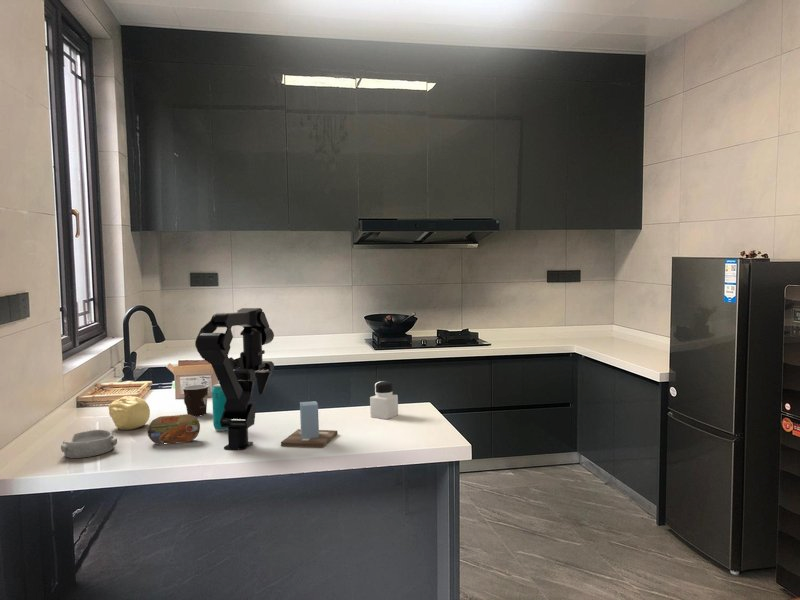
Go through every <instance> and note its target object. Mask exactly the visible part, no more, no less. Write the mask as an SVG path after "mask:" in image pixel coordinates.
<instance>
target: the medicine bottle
mask: <svg viewBox="0 0 800 600" xmlns="http://www.w3.org/2000/svg"><path fill="white" fill-rule="evenodd" d="M374 393H375V395H373V396H370V397H369V404H370V406H369V407H370V409H369V410H370V417H371V418H375V419H382V420H390V419H392V418H394V417H397V416H398V415H399V397H398V396H399V395H398V394H393V383H392V382H391V381H387V380H382V381H378V382H377V381H376V383H375V384H374Z"/></svg>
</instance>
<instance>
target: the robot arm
mask: <svg viewBox="0 0 800 600" xmlns="http://www.w3.org/2000/svg"><path fill="white" fill-rule="evenodd" d="M234 326H235V327H236V326H239V327H242V328H243V329H242V331H240V336H242V347H243V348H242V349H243V350H242V351H241V352H240V353H239V357H237V358H235V359H234V357H232V356H231V357H229V353H230V350H231V343H232V341H233V338H234V336H233V331H232V328H233V327H234ZM218 328H226V331H225V333H224V332H216V331H217V329H218ZM274 337H275V333H274V331H273V330H272V328H270V324H269V321H268V319H267V317H266V313H265V311H263V309H262V308H260V307H253V308H252V307H250V308H249V307H247V308H246V307H245V308H244V307H243V308H240V309H238V310H237V312H228V313H227V312H220V313H219V312H217V313H214V314H212V317H211V319H210V320H209V321H208V322H207V323H206V324H205V325H204V326H203V327H202V328H200V331H199V333H198V335H197V337H196V339H195V340H194V342H195V343H194V344H195V345H194V346H195V348H196V350H197V352H198V354H199V355H200V357H201V358H202V359H203V360H204V361H206V362H208V363H209V364H210V365H211V367H212V370H213V372H214V374H215V376H216V379H217V381H218V383H219V384H220V386H221V388H222V391H223V393H224V395H225V397H226V402H225V405H224V411H223V414H222V417H221V420H220V425H221V427H228V430H227V436H228V437H227V439H228V440H227V442H228V444H227V445H225V446H223V449H224V450H246V449H247V448H249V447H250V446H251V445H253V444H254V441H249V428H251V427H252V426H254V425H255V421H256V413H257V411H256V409H257V408H256V404H255V402H254V401H255V400H254V398H253V396H252V395H253V391H254V387H255V383H256V384H257V385H256V386H257V390H258V391H257V392H258V394H259V395H263V394H264V392H265V390H266V387H267V384H268V383H269V380H270V378H271V376H272V374H273V371H274V370H275V363H274V362H273V361H272V360H271V361H269V360H263V355H264V354H265V353H266V352H265V350H264V349H263V346H265V345H267V344H271V343H272V341H273V340H274ZM231 419H232V420H231Z"/></svg>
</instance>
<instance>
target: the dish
mask: <svg viewBox="0 0 800 600" xmlns="http://www.w3.org/2000/svg"><path fill="white" fill-rule="evenodd" d="M117 444H118V438H116V437H115V438H114V435H113V431H110V430H107V429H92V430H90V429H89V430H84V431H80V432H76V433H74V434H73V436H72V438H71V440H70V441H66V440H63V441H62V444H61V445H60V450H61V453H64V456H65V457H66V458H70V459H80V458H81V459H82V458H90V457H95V456H98V455H99V456H100V455H102V454H106V453H108V452H111V451H112V450H113V449H114V447H116V446H117Z"/></svg>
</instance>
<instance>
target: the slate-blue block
mask: <svg viewBox="0 0 800 600" xmlns="http://www.w3.org/2000/svg"><path fill="white" fill-rule="evenodd" d="M299 413H300V414H299V415H300V417H299V418H300V429H301V436H302V439H308V438H319V430H320V428H319V426H320V425H319V423H320V422H319V421H320V420H319V403H318V402H317V401H316V400H315V401H300V402H299Z"/></svg>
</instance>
